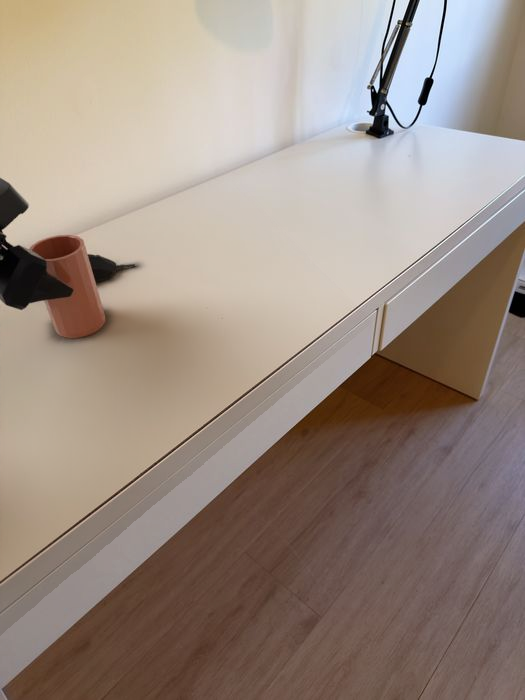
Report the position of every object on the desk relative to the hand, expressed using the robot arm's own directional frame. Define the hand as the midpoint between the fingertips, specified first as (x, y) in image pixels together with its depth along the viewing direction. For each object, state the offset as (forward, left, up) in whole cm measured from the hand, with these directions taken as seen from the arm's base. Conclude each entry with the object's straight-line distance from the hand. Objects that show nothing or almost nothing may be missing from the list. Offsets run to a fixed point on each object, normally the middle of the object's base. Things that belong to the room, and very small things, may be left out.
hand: (54, 279), depth 69 cm
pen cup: (+1, +1, -8) cm, 8 cm away
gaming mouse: (+4, +14, -8) cm, 16 cm away
